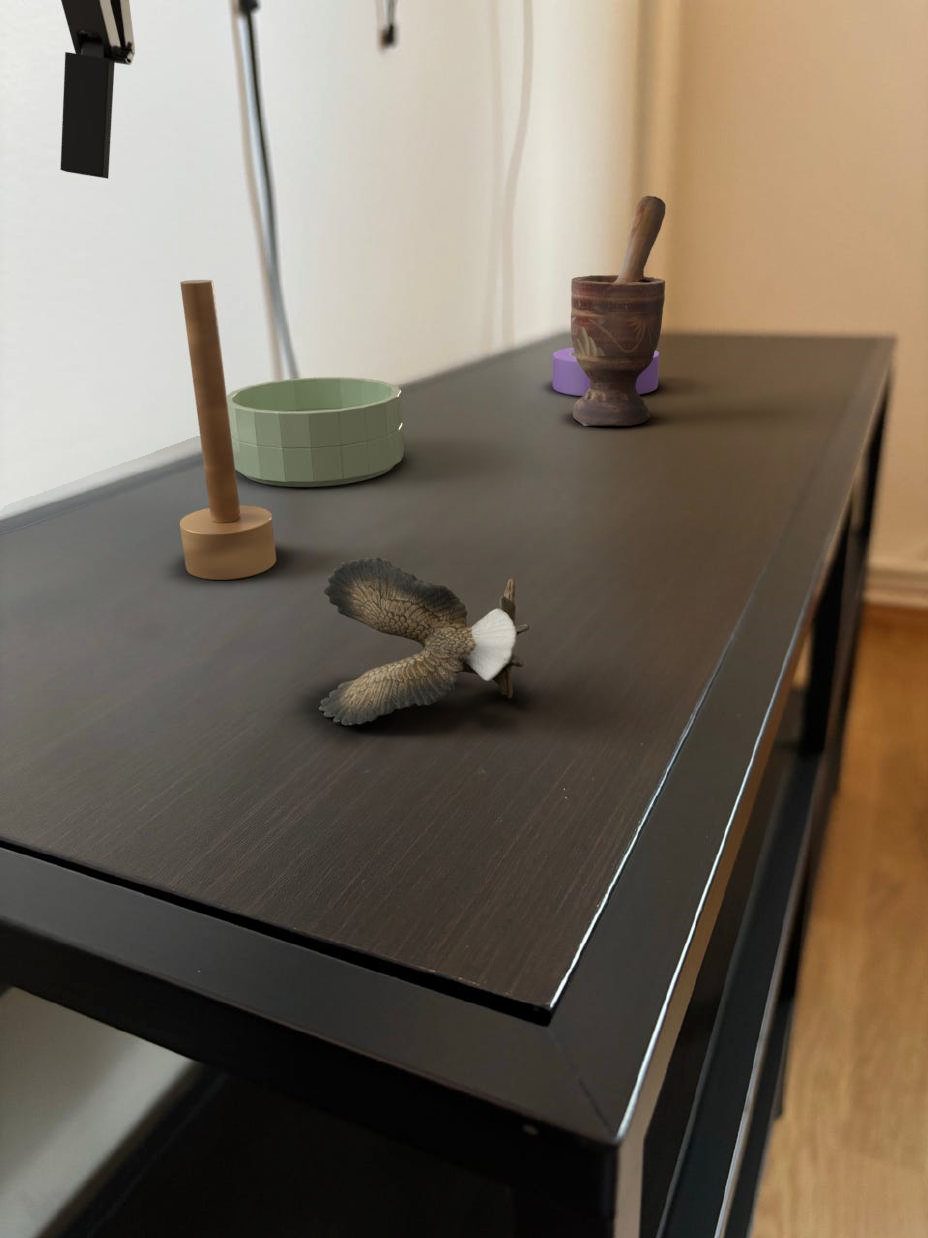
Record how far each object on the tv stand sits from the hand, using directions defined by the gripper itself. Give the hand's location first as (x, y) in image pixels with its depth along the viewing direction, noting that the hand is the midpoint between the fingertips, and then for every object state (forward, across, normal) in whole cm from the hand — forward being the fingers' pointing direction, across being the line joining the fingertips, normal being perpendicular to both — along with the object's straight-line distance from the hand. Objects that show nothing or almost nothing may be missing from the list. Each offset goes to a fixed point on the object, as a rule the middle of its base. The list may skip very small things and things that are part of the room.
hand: (24, 154), depth 54 cm
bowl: (+18, +26, -12) cm, 34 cm away
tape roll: (+9, +59, -35) cm, 69 cm away
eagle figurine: (+22, -13, -28) cm, 38 cm away
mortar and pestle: (+11, +45, -36) cm, 59 cm away
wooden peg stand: (+22, +3, -13) cm, 25 cm away
